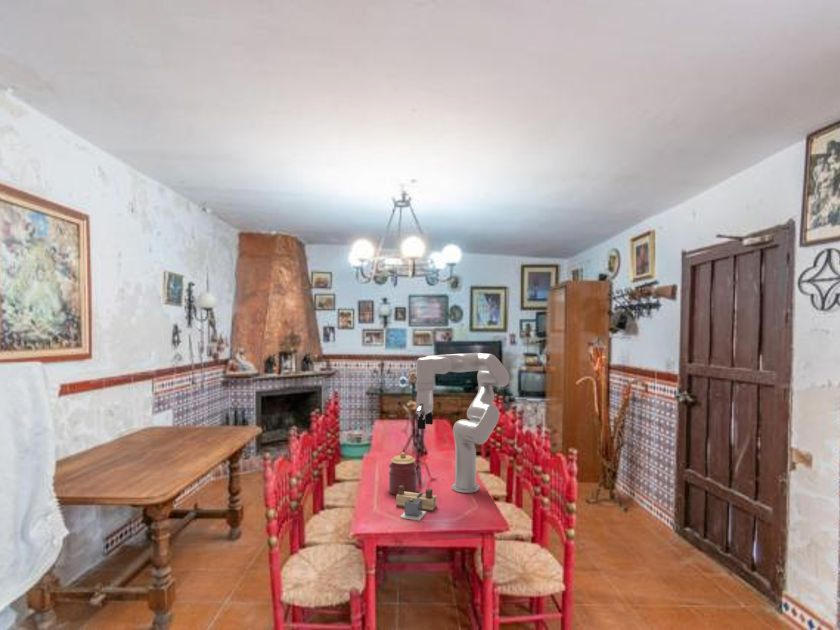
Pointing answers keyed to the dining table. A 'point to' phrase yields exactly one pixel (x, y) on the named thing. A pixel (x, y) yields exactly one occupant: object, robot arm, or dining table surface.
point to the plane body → (427, 499)
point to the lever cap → (413, 507)
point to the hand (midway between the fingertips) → (425, 426)
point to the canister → (402, 474)
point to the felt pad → (413, 517)
